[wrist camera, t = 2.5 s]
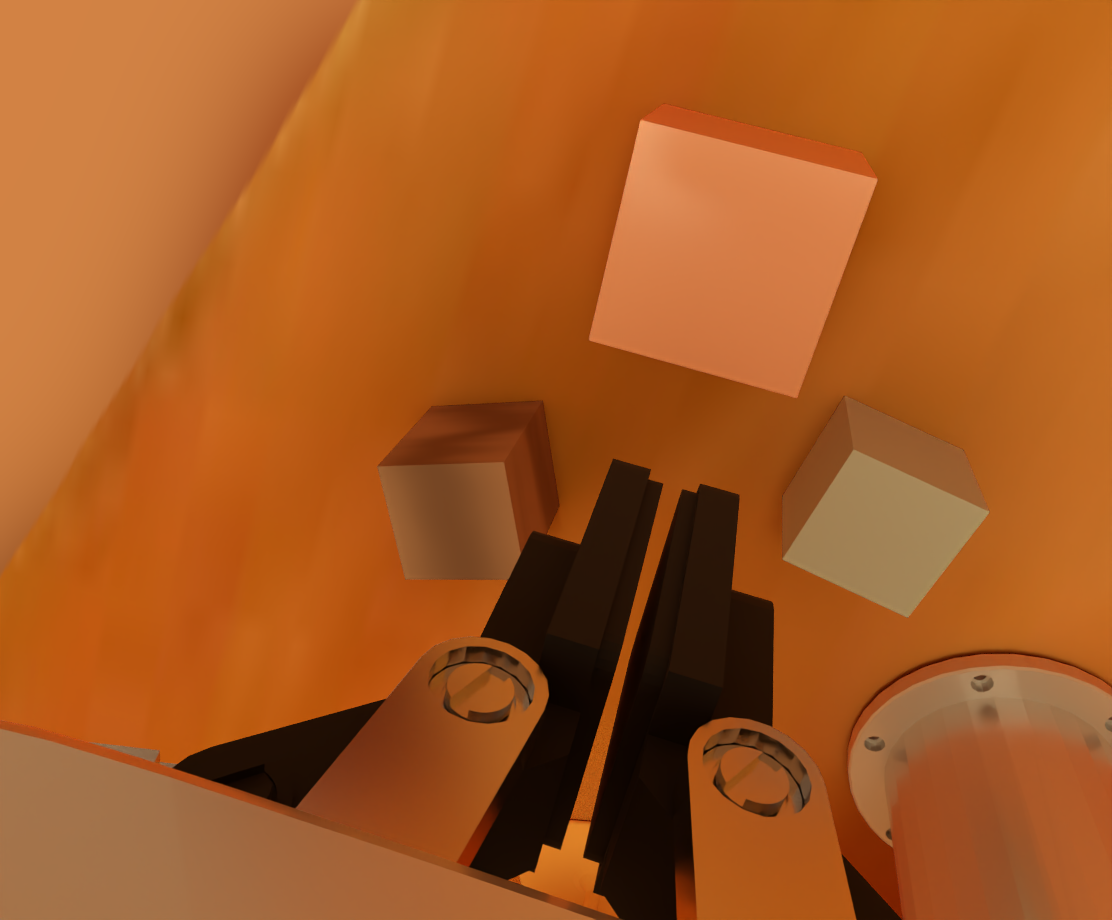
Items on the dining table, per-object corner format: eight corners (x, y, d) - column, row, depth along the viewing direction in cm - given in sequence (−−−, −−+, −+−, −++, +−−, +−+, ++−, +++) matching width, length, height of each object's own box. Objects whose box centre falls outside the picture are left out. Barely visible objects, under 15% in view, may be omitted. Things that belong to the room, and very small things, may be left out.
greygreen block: (963, 449, 34) (989, 512, 30) (892, 546, 37) (907, 617, 32) (844, 394, 34) (853, 449, 30) (782, 495, 37) (782, 559, 32)
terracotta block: (861, 151, 31) (877, 179, 25) (794, 339, 34) (796, 398, 29) (664, 103, 31) (640, 119, 26) (617, 291, 35) (588, 340, 29)
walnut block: (542, 400, 37) (503, 462, 32) (559, 505, 39) (525, 579, 34) (432, 406, 39) (377, 466, 33) (454, 507, 41) (405, 579, 35)
